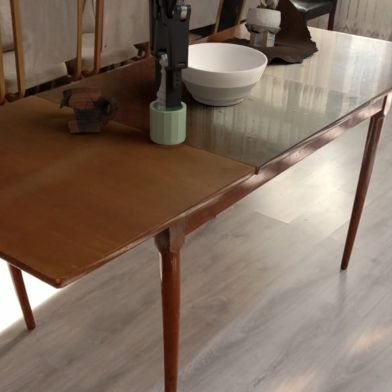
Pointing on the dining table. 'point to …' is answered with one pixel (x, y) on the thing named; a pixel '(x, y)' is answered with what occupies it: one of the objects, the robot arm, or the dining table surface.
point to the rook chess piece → (162, 82)
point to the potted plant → (277, 32)
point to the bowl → (222, 72)
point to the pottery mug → (88, 108)
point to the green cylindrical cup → (167, 124)
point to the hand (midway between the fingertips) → (168, 101)
